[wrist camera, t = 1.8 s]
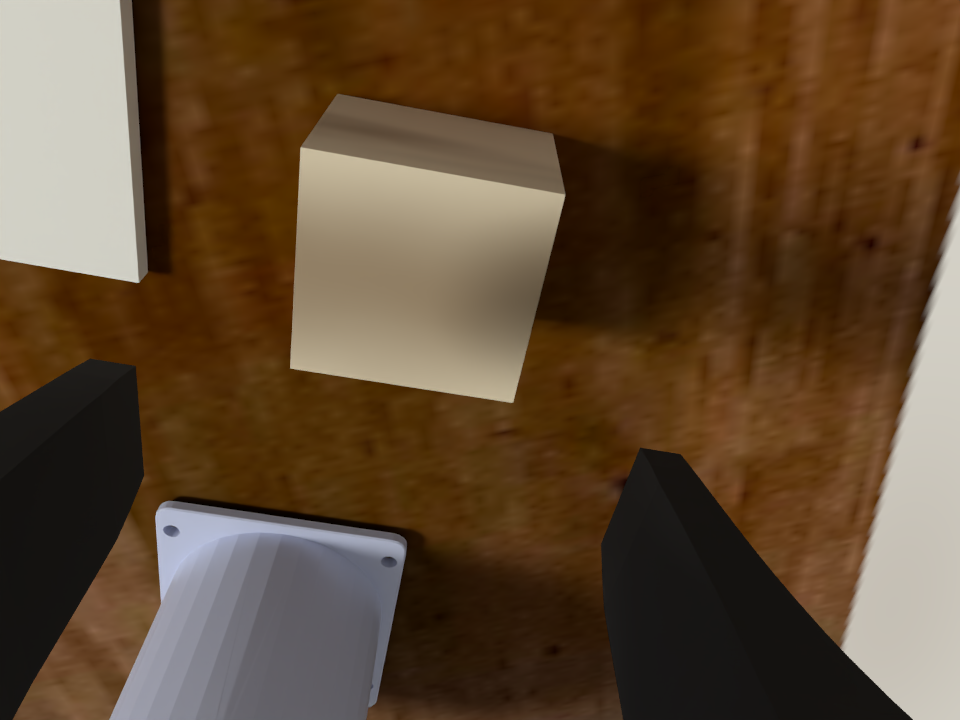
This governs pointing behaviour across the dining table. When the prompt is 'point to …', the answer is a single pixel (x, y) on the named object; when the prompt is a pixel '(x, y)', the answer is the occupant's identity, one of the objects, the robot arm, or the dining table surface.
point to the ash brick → (421, 247)
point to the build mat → (71, 138)
